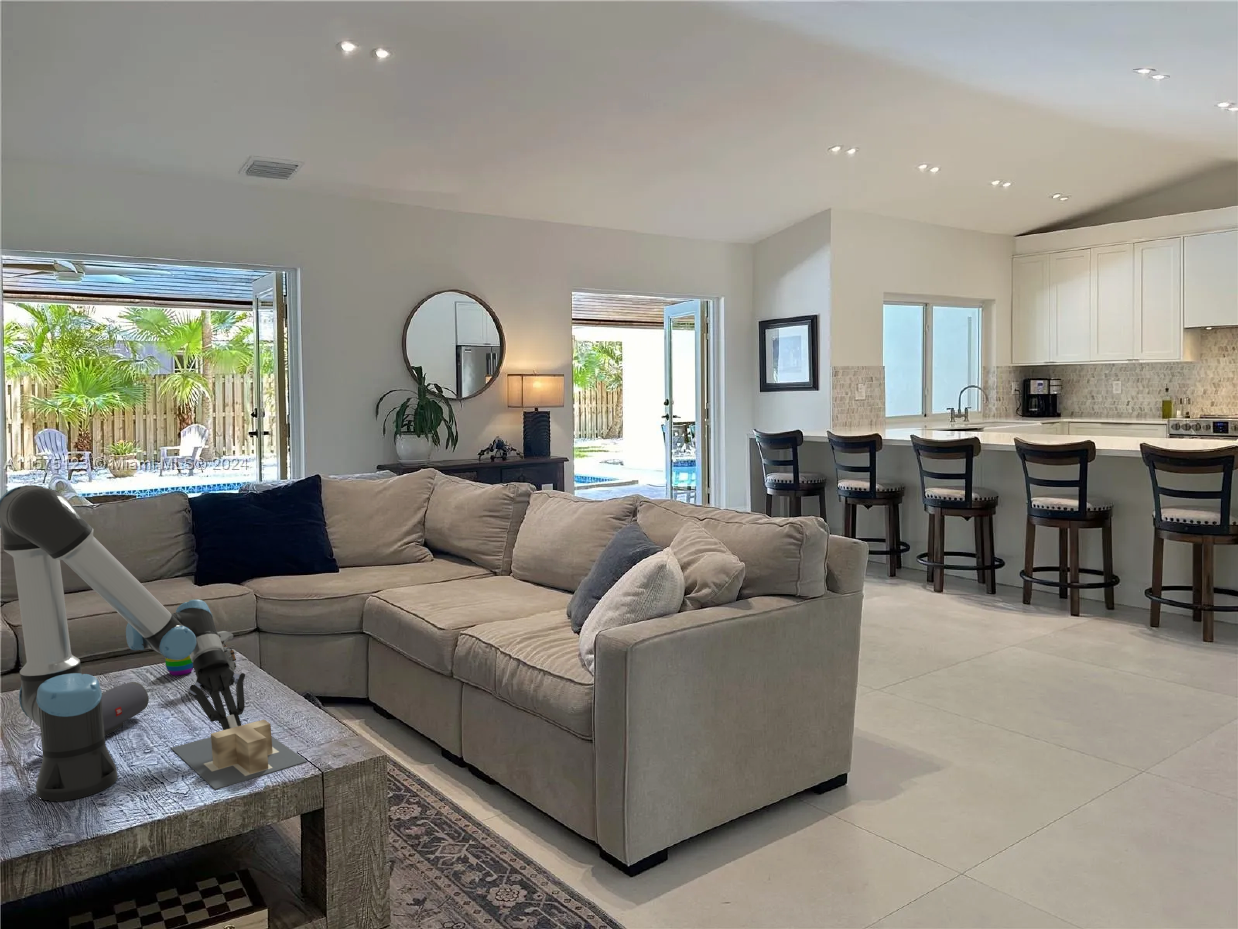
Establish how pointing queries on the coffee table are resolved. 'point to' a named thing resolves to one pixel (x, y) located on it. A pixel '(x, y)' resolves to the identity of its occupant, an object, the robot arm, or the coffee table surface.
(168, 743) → the coffee table surface
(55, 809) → the coffee table surface
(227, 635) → the figurine
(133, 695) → the bluetooth speaker
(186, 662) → the decorative egg
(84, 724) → the robot arm
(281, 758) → the mat
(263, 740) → the t block
